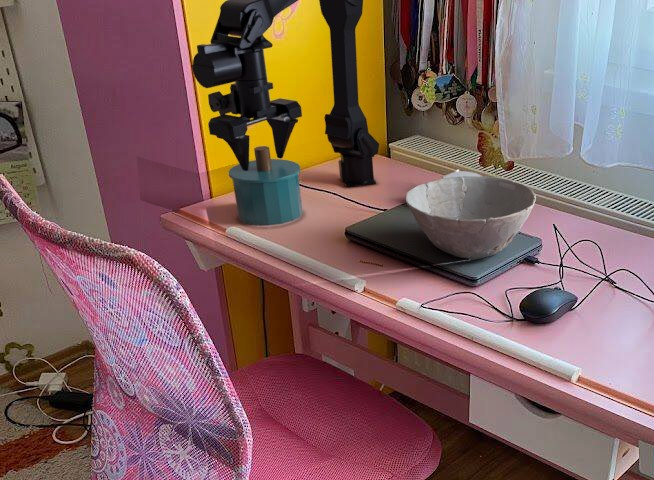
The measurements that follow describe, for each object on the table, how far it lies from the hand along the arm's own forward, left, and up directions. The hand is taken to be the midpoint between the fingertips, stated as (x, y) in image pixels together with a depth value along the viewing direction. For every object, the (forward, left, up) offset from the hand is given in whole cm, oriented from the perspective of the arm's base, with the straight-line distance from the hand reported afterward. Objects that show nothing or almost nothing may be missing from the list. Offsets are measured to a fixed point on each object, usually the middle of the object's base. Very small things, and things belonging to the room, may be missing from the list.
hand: (263, 164), depth 163 cm
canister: (0, 0, -10) cm, 10 cm away
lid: (0, 0, -2) cm, 2 cm away
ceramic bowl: (-31, +30, -11) cm, 44 cm away
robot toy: (-36, +5, -11) cm, 38 cm away
